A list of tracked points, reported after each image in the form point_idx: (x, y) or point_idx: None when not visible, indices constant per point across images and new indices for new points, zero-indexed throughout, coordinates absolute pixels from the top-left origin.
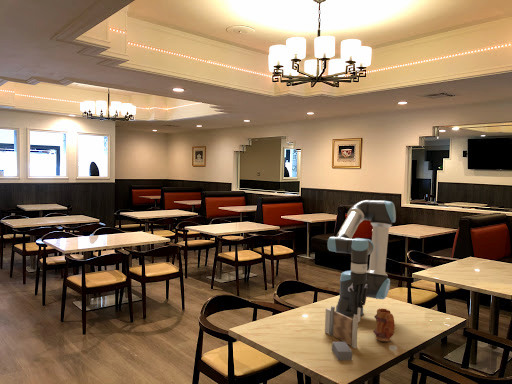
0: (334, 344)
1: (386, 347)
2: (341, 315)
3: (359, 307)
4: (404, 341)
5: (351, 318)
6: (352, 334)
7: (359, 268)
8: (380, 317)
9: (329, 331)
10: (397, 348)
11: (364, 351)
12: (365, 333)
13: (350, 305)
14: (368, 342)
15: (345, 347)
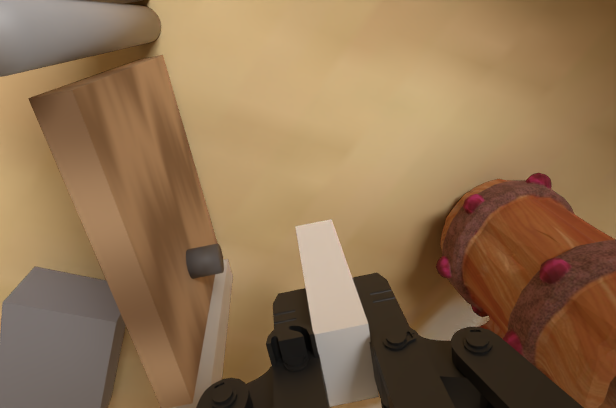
0: (4, 343)
1: (416, 317)
2: (99, 256)
3: (369, 385)
4: None
5: (179, 378)
6: None
7: None
8: (542, 368)
9: (115, 2)
10: None
11: (248, 331)
12: (454, 88)
13: (205, 400)
14: (360, 233)
15: (72, 393)
